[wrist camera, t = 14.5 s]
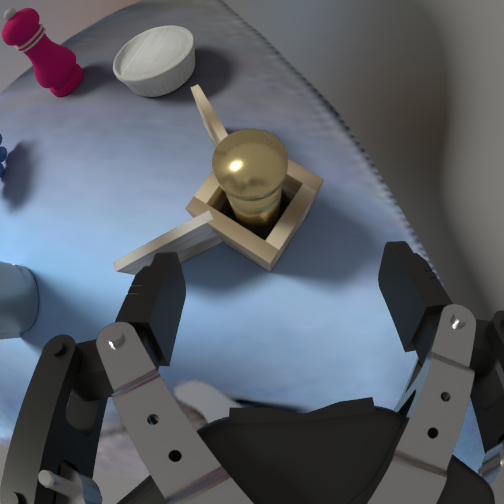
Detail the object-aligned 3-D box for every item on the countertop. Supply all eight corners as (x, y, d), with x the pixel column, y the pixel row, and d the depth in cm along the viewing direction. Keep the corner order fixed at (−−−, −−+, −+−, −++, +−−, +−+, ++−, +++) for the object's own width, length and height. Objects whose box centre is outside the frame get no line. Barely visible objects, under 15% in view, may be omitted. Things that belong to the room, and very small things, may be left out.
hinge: (229, 333, 29) (215, 346, 21) (118, 251, 31) (78, 237, 23) (323, 188, 31) (339, 154, 23) (209, 124, 33) (194, 83, 25)
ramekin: (126, 64, 36) (113, 42, 30) (195, 40, 35) (188, 16, 30) (127, 115, 34) (110, 93, 29) (207, 88, 34) (199, 62, 28)
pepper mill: (89, 82, 36) (25, 1, 16) (53, 107, 35) (-17, 38, 16) (84, 60, 37) (30, -13, 17) (51, 83, 37) (-9, 19, 17)
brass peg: (264, 250, 30) (261, 209, 16) (228, 227, 31) (197, 171, 17) (287, 214, 30) (302, 150, 17) (252, 192, 31) (240, 117, 17)
